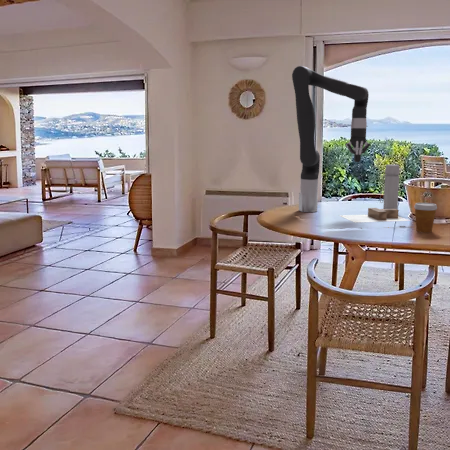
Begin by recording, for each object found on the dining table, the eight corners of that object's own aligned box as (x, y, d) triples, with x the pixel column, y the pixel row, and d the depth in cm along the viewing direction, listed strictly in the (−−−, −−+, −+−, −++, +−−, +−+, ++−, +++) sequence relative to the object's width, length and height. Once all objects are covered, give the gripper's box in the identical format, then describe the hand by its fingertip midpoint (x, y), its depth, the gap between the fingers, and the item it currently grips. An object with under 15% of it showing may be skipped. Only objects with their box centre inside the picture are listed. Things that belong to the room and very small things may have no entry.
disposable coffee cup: (408, 229, 244) (410, 202, 242) (429, 228, 245) (431, 202, 243) (418, 233, 235) (419, 205, 233) (439, 233, 236) (441, 205, 233)
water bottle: (397, 211, 292) (400, 164, 287) (397, 214, 285) (399, 165, 280) (379, 210, 295) (382, 164, 290) (378, 213, 288) (381, 165, 283)
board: (354, 225, 254) (354, 222, 254) (338, 217, 274) (338, 215, 273) (410, 223, 259) (410, 220, 259) (390, 216, 278) (391, 213, 278)
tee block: (378, 220, 260) (378, 211, 259) (367, 215, 272) (368, 208, 271) (402, 219, 262) (402, 211, 261) (390, 215, 274) (391, 207, 273)
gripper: (367, 127, 280) (366, 161, 283) (343, 127, 278) (342, 161, 281) (374, 127, 273) (372, 162, 276) (349, 127, 270) (347, 162, 274)
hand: (357, 162), depth 278 cm, fingers closed
